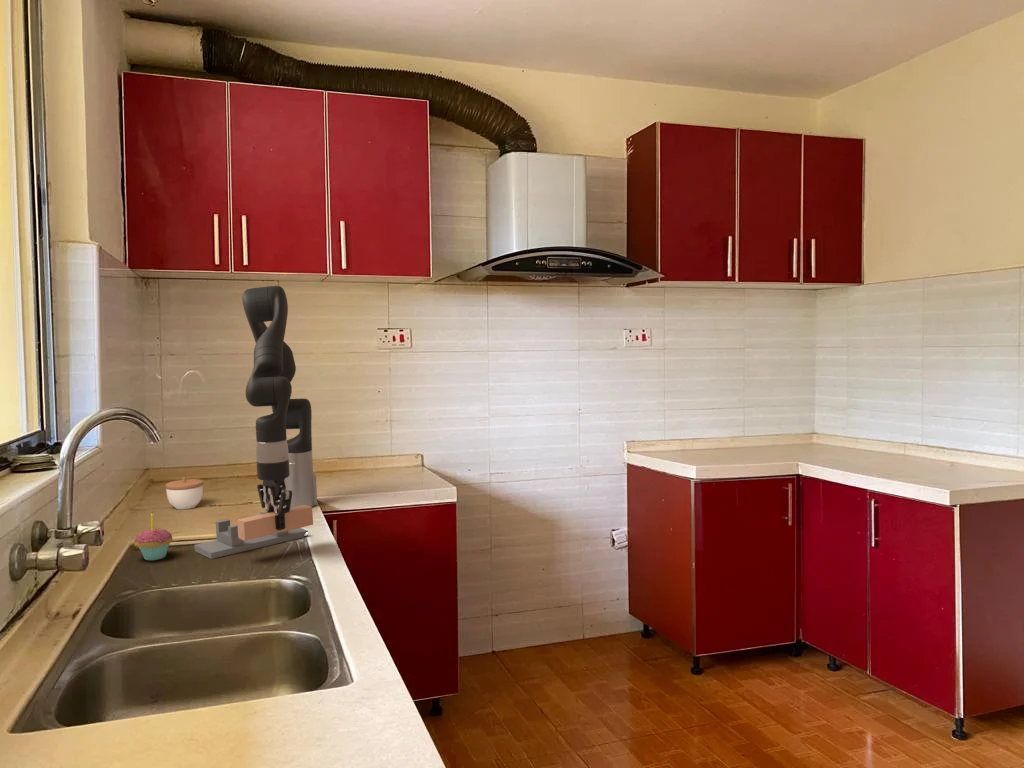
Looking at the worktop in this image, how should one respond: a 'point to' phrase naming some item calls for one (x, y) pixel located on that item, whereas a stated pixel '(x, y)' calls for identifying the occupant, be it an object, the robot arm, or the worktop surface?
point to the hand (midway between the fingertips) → (276, 527)
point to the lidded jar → (184, 493)
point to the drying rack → (232, 544)
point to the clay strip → (273, 523)
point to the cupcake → (153, 542)
